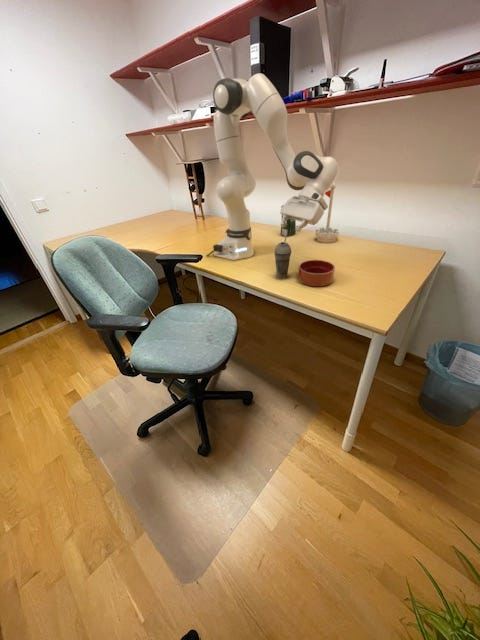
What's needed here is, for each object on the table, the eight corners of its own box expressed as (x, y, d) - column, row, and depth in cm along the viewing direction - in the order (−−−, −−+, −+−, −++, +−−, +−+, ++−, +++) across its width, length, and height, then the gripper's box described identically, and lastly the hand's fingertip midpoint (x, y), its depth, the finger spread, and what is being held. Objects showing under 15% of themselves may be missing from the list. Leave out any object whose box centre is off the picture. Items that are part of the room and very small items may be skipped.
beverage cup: (275, 272, 119) (276, 229, 108) (291, 273, 117) (293, 229, 106) (272, 279, 114) (273, 234, 102) (289, 280, 112) (291, 234, 100)
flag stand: (342, 239, 151) (351, 182, 134) (328, 244, 145) (336, 185, 128) (324, 234, 160) (330, 181, 142) (310, 240, 154) (315, 184, 136)
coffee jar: (288, 231, 170) (289, 201, 160) (297, 233, 165) (299, 202, 155) (278, 235, 166) (278, 204, 155) (287, 237, 160) (288, 205, 150)
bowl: (293, 284, 108) (294, 271, 105) (302, 270, 119) (303, 258, 116) (329, 289, 103) (332, 276, 99) (335, 274, 113) (337, 261, 110)
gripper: (288, 191, 108) (269, 219, 110) (324, 196, 93) (301, 229, 95) (296, 200, 112) (278, 227, 114) (331, 207, 97) (309, 238, 99)
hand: (289, 228), depth 105 cm, fingers open, 8 cm apart
